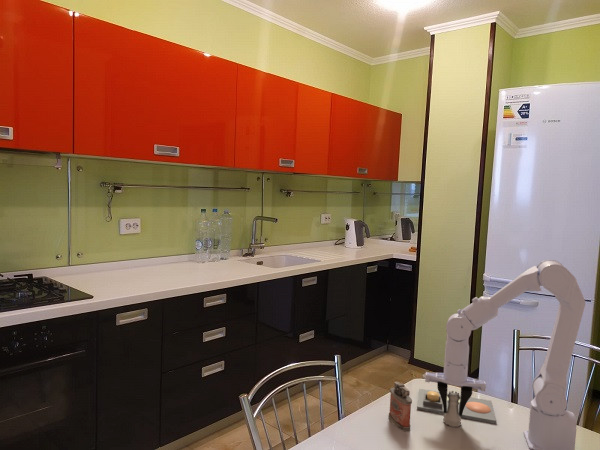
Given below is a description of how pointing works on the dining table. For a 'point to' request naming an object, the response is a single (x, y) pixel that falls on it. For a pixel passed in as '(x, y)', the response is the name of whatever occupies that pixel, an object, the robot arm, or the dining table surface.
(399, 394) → the lighter
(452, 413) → the rook chess piece
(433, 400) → the button
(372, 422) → the dining table surface
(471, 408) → the grey board
